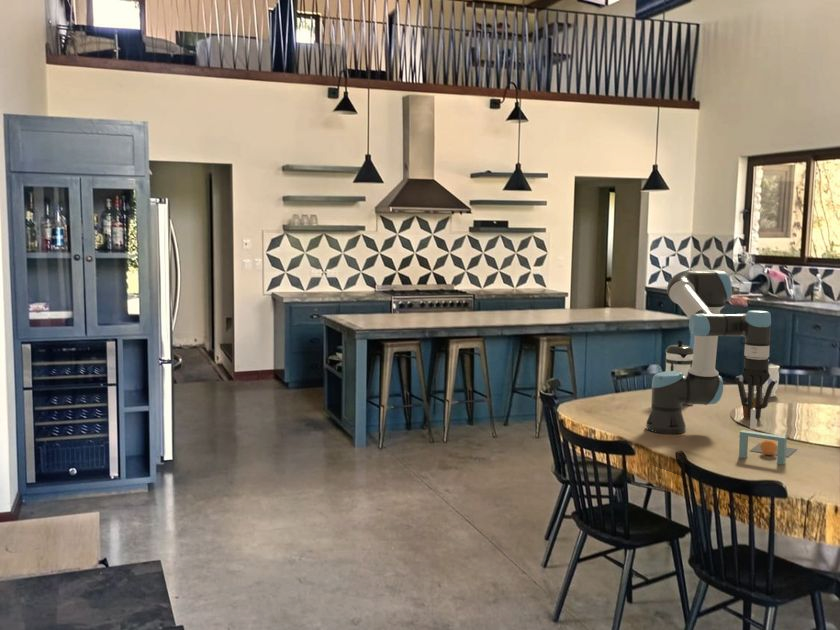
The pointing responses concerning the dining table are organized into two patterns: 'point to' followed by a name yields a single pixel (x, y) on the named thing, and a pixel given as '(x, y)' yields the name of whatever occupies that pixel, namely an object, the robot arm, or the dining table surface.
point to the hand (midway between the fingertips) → (753, 427)
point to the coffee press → (679, 358)
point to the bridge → (781, 439)
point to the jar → (774, 375)
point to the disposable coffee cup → (745, 409)
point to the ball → (768, 447)
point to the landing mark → (788, 451)
